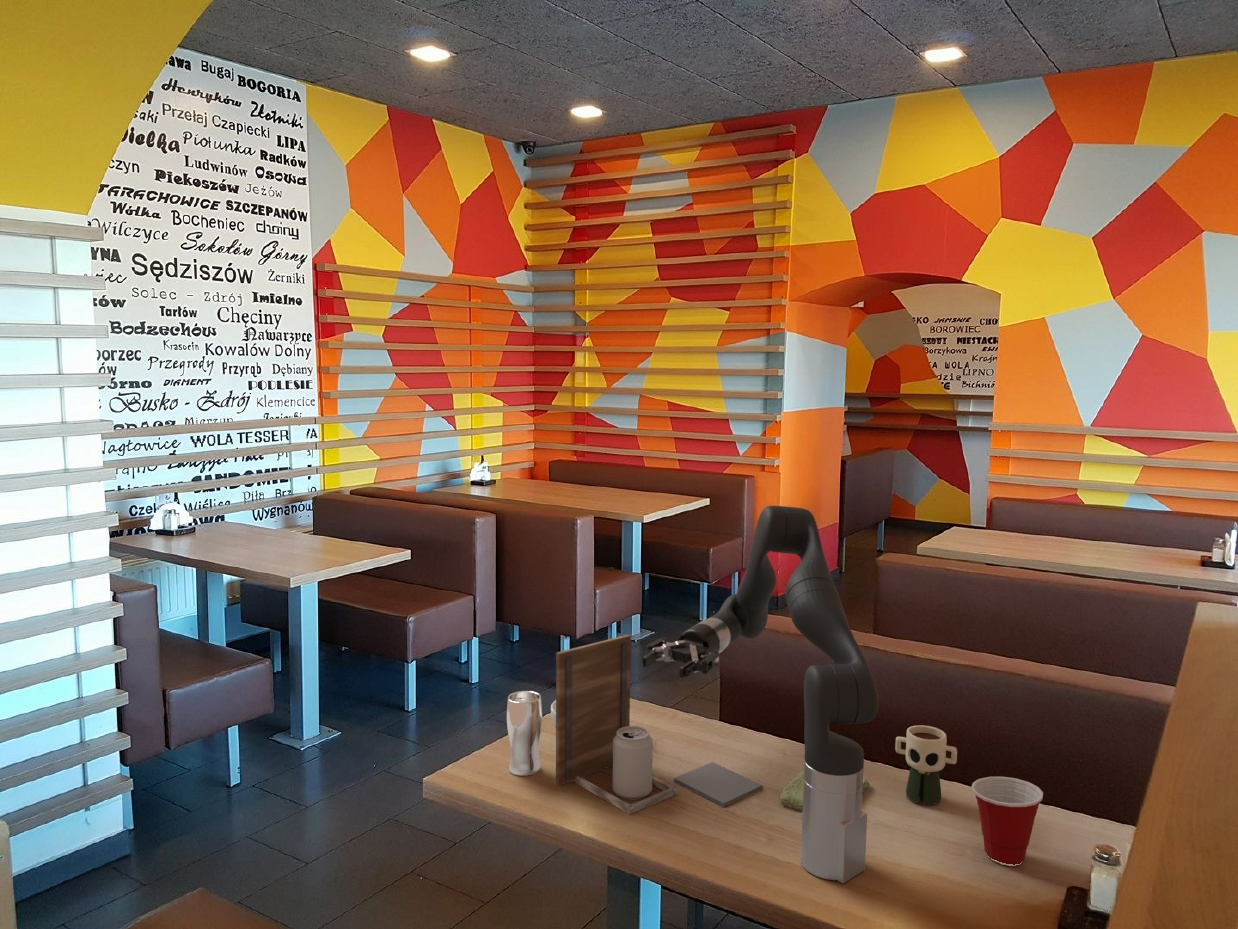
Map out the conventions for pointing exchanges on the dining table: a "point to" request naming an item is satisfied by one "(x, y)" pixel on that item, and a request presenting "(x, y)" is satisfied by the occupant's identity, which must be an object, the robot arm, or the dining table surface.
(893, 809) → the dining table surface
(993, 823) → the plastic cup
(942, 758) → the character mug
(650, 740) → the can
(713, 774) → the slate board
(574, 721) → the wooden stand
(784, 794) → the washcloth
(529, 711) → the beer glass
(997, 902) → the dining table surface
